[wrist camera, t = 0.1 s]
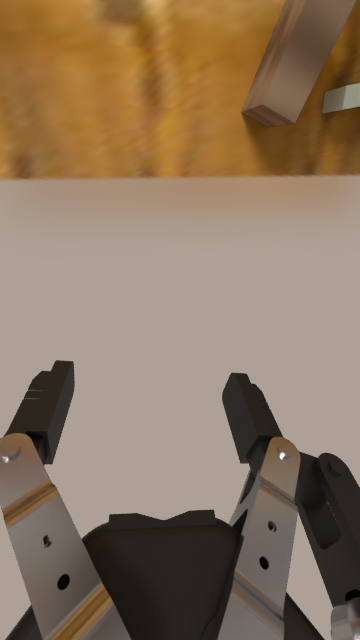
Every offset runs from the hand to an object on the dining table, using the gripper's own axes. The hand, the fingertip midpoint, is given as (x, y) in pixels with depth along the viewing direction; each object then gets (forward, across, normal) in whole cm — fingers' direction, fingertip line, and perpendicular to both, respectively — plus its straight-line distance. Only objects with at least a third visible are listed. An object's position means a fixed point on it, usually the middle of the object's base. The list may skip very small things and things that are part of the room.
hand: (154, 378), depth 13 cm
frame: (+29, -12, -20) cm, 37 cm away
